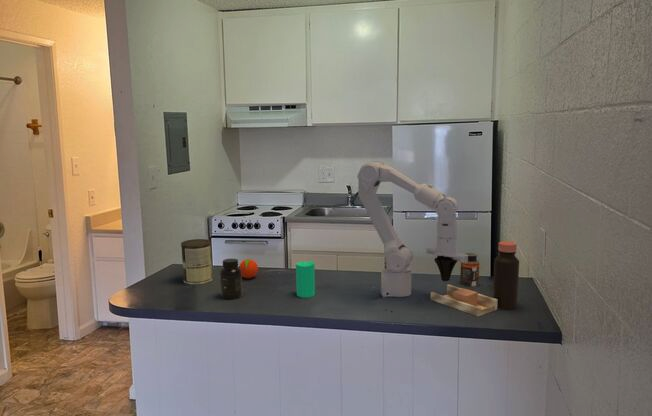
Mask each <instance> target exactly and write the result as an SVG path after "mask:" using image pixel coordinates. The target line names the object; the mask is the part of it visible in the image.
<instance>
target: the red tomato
mask: <svg viewBox="0 0 652 416" xmlns="http://www.w3.org/2000/svg"><path fill="white" fill-rule="evenodd" d="M238 267H239V268H240V269H241V271H242V278H244V279H252V278H254V277H256V275H257V274H258V271H259V266H258V263H257V262H256V260H253V259H250V258H246V259H244V260H242V261H241V262H240V264H239V265H238Z"/></svg>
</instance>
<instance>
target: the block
mask: <svg viewBox="0 0 652 416" xmlns="http://www.w3.org/2000/svg"><path fill="white" fill-rule="evenodd" d="M478 294H479V292H477V291H474V290H471V289H467V288H462V289H460V290H457V291H454V292H453V299H455V300H458V301H461V302H464V303H467V304H470V305H473V306H477V298H478Z"/></svg>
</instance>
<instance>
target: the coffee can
mask: <svg viewBox="0 0 652 416" xmlns="http://www.w3.org/2000/svg"><path fill="white" fill-rule="evenodd" d="M211 242H212V241H211V240H210V239H206V238H193V239H187V240H184V241H181V242H180V246H181V258H182V260H181V262H182V273H183V274H182V275H183V283H184V284H186V285H203V284H207V283H209V282H212V281H213V267H212V250H211V249H212V248H211Z"/></svg>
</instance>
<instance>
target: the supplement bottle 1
mask: <svg viewBox="0 0 652 416" xmlns="http://www.w3.org/2000/svg"><path fill="white" fill-rule="evenodd" d="M219 279H220V281H219V282H220V296H221V298H222V299H225V300H236V299H240V298H241V297H242V296H243V276H242V271H241V269H240V268H239V259H238V258H225V259H223V260H222V268H221V269H220V272H219Z"/></svg>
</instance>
